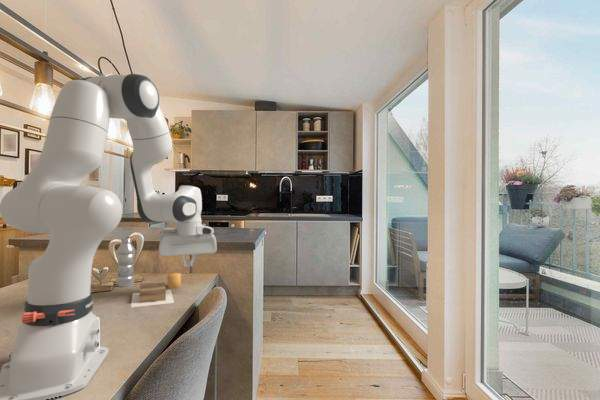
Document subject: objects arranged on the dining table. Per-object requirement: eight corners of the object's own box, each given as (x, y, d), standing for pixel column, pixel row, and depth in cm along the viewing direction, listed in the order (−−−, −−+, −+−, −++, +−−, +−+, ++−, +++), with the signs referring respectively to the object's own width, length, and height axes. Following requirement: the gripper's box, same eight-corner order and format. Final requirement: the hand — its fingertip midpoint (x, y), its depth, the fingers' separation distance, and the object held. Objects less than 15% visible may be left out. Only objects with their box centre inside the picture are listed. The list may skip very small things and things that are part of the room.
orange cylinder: (181, 290, 124) (181, 275, 124) (167, 291, 122) (168, 276, 122) (179, 287, 129) (180, 272, 129) (166, 288, 126) (167, 273, 126)
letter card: (174, 305, 107) (174, 302, 107) (130, 310, 101) (130, 307, 101) (170, 292, 121) (170, 289, 121) (132, 296, 115) (132, 293, 115)
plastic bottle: (126, 290, 122) (128, 239, 122) (111, 288, 123) (113, 238, 123) (138, 286, 128) (139, 237, 128) (123, 284, 129) (125, 236, 129)
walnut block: (165, 300, 109) (165, 288, 109) (139, 303, 105) (140, 291, 105) (164, 293, 117) (164, 282, 117) (140, 295, 113) (140, 284, 113)
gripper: (158, 230, 109) (157, 270, 109) (218, 229, 118) (217, 266, 118) (157, 228, 114) (157, 266, 115) (214, 227, 123) (214, 262, 124)
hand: (188, 266), depth 116 cm, fingers closed
